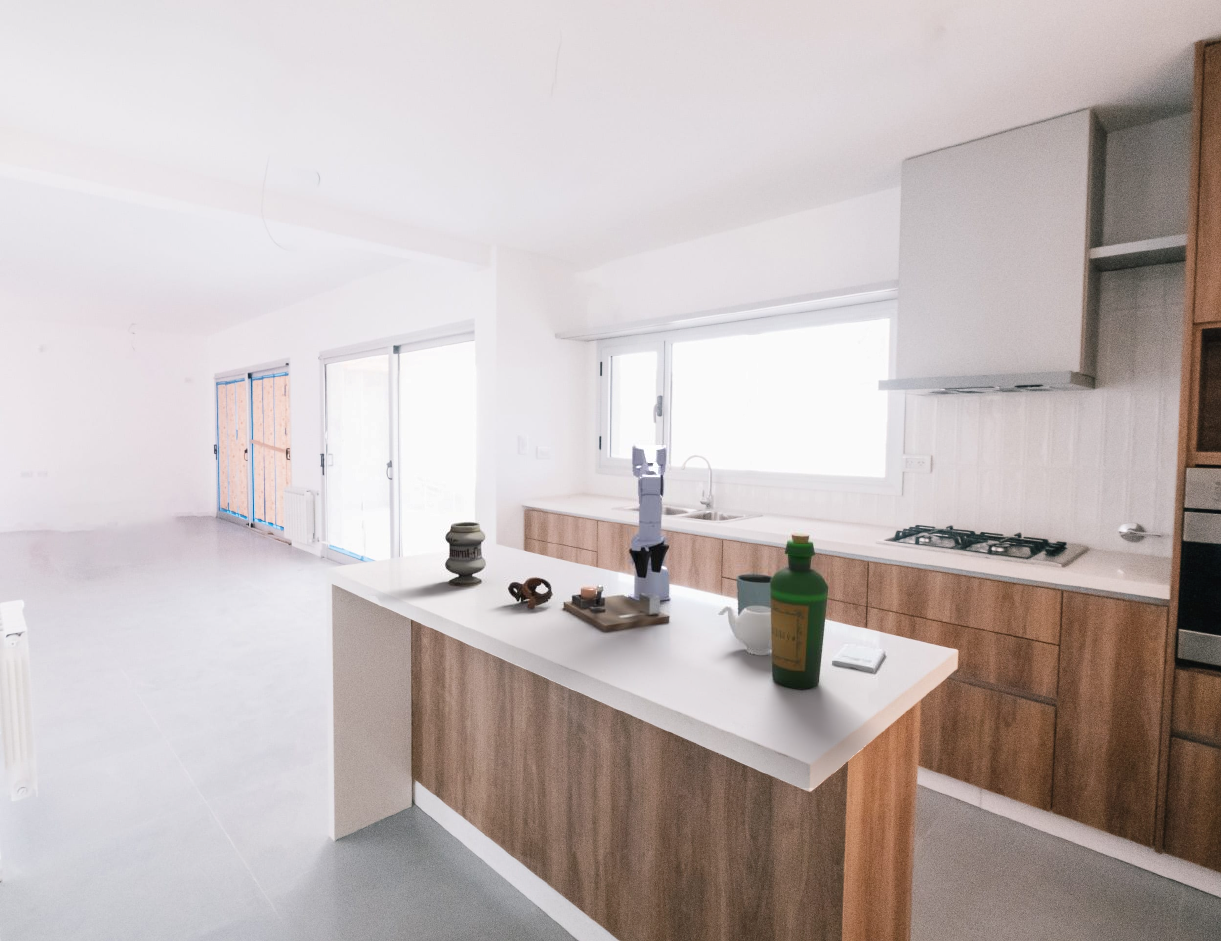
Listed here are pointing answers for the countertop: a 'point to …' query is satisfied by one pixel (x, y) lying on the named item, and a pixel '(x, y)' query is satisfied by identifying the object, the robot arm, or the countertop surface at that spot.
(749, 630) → the teapot
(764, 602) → the blue-gray cylindrical pot
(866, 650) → the external hard drive
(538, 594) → the brown curved loop piece
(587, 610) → the control panel
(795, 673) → the bottle
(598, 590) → the toggle lever
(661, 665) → the countertop surface
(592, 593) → the push button
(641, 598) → the gray rectangular block
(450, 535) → the apothecary jar
